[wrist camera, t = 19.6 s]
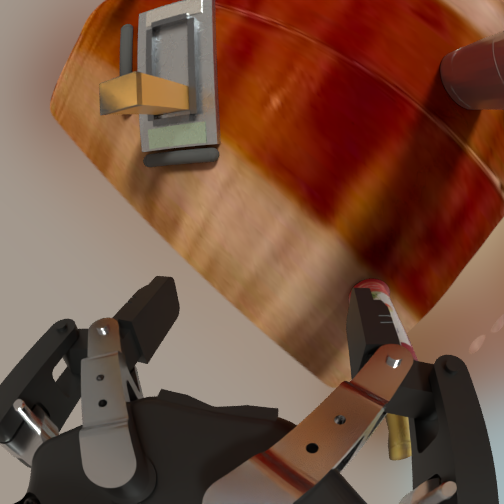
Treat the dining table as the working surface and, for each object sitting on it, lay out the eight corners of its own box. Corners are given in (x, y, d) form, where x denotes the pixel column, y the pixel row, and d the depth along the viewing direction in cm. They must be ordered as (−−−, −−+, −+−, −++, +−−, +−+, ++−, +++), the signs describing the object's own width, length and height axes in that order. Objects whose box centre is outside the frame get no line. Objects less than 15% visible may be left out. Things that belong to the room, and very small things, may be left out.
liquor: (384, 267, 39) (444, 425, 14) (392, 303, 42) (437, 455, 17) (341, 281, 42) (359, 450, 17) (352, 316, 44) (368, 474, 19)
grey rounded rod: (135, 110, 36) (128, 109, 34) (125, 112, 37) (118, 112, 35) (135, 24, 30) (128, 21, 28) (125, 27, 30) (118, 25, 28)
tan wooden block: (189, 110, 34) (137, 104, 22) (158, 115, 34) (100, 115, 23) (188, 85, 32) (136, 71, 20) (157, 91, 33) (99, 83, 21)
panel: (220, 143, 37) (213, 144, 34) (147, 151, 39) (136, 153, 36) (215, -3, 27) (208, -11, 24) (143, 16, 29) (134, 11, 26)
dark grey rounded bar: (220, 146, 37) (216, 147, 35) (221, 160, 38) (217, 162, 36) (147, 154, 39) (140, 155, 37) (148, 166, 40) (141, 168, 38)
